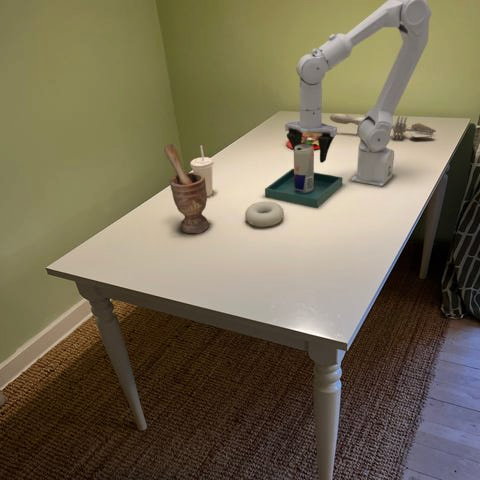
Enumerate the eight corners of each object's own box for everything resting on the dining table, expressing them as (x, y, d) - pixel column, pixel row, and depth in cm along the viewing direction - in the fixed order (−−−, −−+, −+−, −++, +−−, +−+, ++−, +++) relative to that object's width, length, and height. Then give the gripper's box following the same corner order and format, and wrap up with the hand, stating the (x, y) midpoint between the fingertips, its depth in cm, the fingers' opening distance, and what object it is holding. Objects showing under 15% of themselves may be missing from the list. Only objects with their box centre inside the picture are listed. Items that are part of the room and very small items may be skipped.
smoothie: (214, 198, 136) (207, 150, 128) (192, 198, 138) (184, 150, 129) (219, 189, 141) (213, 141, 132) (198, 189, 143) (191, 141, 134)
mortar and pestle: (163, 228, 126) (146, 153, 113) (183, 214, 131) (170, 140, 118) (198, 237, 120) (185, 159, 107) (217, 222, 125) (207, 146, 113)
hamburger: (294, 135, 171) (294, 117, 167) (333, 137, 165) (333, 119, 162) (280, 149, 161) (279, 131, 157) (320, 152, 156) (321, 134, 152)
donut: (238, 218, 126) (257, 233, 119) (237, 206, 124) (256, 220, 117) (271, 207, 129) (291, 221, 122) (270, 195, 127) (291, 208, 120)
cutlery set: (334, 105, 167) (330, 103, 160) (439, 121, 156) (438, 119, 149) (329, 130, 170) (324, 128, 163) (431, 146, 159) (431, 145, 152)
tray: (342, 185, 136) (342, 177, 134) (316, 208, 127) (317, 199, 125) (292, 176, 144) (292, 168, 142) (265, 196, 135) (264, 188, 133)
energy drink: (293, 187, 137) (292, 145, 129) (311, 184, 137) (311, 142, 129) (296, 195, 133) (295, 152, 125) (315, 192, 133) (315, 149, 125)
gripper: (278, 109, 125) (280, 160, 134) (329, 115, 118) (327, 168, 127) (292, 101, 129) (293, 151, 138) (341, 106, 122) (339, 158, 131)
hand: (310, 159), depth 132 cm, fingers open, 7 cm apart
